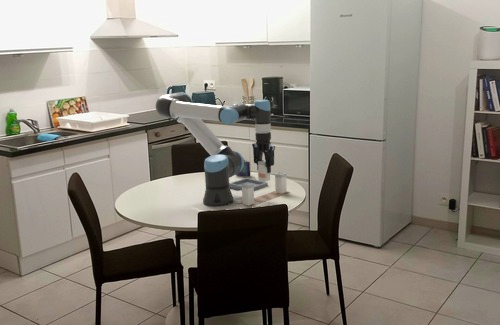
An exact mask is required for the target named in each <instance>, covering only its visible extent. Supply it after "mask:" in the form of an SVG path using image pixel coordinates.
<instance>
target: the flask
mask: <svg viewBox="0 0 500 325" xmlns="http://www.w3.org/2000/svg"><path fill="white" fill-rule="evenodd" d="M243 159H244V166H243V169H242V170H241V171H240V172H239V173H238V174H236V175H235V176H237V177H246V178H249V177H251V164H250V163H251V162H250V160H247V159H246V160H245V157H243Z"/></svg>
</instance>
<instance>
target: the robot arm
mask: <svg viewBox="0 0 500 325" xmlns="http://www.w3.org/2000/svg"><path fill="white" fill-rule="evenodd" d="M155 110H156V113H157V114H158V115H159V116H160V117H162V118H165V119H174V120H175V121H176V122H178V123H180V124H181V123H182V124H183V126H185V128H186V129H187V130H188V131H189V132H190V134H191V135H192V136H193V137H194V138H195V139H196V140H197V141H198V143H200V145H201V146H202V147H203V148H204V149H205V151H206V152H207V153H208V154H209V155H210V156H208V157H206V158H204V164H203V165H204V166H203V168H204V179H205V180H204V181H205V191H204V195H203V198H202V204H203V205H204V206H207V207H213V208H217V207H218V208H220V207H226V206H229V205H230V206H231V205H232V204H233V203H234V202H235V200H234V196H233V194H232V191H231V188H230V187H229V183H230V178H232V177H234V176H237V175H236V174H238V173H239V172H240V171H241V170H242V169H243V166H244V160H245V158H244V156H243V155H242V154H241V153H240V152H239V151H237V150H233V149H232V148H231V147H230V146H229V145H224V144H223V143H222V141H221V140H220V139H219V138H218V137H217V136H216V134H214V132H213V131H212V130H211V129H210V127H208V125H207V124H206V123H205V122H204V120H205V121H212V122H217V123H218V122H221V123H223V124H224V125H234V124H235V123H238V122H240V121H244V120H254V128H255V129H254V130H255V140H256V141H255V143H252V144H251V145H252V151H253V155H252V156H253V163H254V164H256V165H257V166H256V169H257V171H258V161H260V160H263V154H264V160H265V161H266V166H265V180H268V179H270V180H271V172H272V167H273V166H274V165H275V150H276V146H275V145H272V144H271V140H272V134H271V133H272V132H271V130H272V129H271V123H272V122H271V102H270V100H268V99H256V100H254V102H253V103H242V102H241V103H240V102H239V103H234V104H232V106H226V105H225V106H224V105H215V104H206V103H199V102H196V103H195V102H193V98H192V97H191V95H189V94H188V93H185V92H183V91H177V92H174V93H168V94H164V95H161V96H159V97H158V98H157V99H156V101H155ZM243 158H244V159H243ZM257 178H258V179H259V177H258V176H257Z"/></svg>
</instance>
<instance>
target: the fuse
mask: <svg viewBox="0 0 500 325" xmlns="http://www.w3.org/2000/svg"><path fill="white" fill-rule="evenodd" d="M254 198H255V190H254V184H253V183H249V182H247V183H244V184H242V190H241V199H242V200H241V202H243V204H245V205H248V206H249V205H251V204H254ZM245 205H244V206H245ZM248 206H247V207H248Z"/></svg>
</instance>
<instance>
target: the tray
mask: <svg viewBox="0 0 500 325" xmlns="http://www.w3.org/2000/svg"><path fill="white" fill-rule="evenodd" d="M247 182H249V183H253V184H254V191H256V190H259V189H262V188H265V187H267V186H268V185H269V182H268V181H266V182H262V181H259V179H253V178H249V177H245V178H242V179H238V180H236V181H232V182H229V187H230V189H232V190H236V191H242V184H244V183H247Z"/></svg>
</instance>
